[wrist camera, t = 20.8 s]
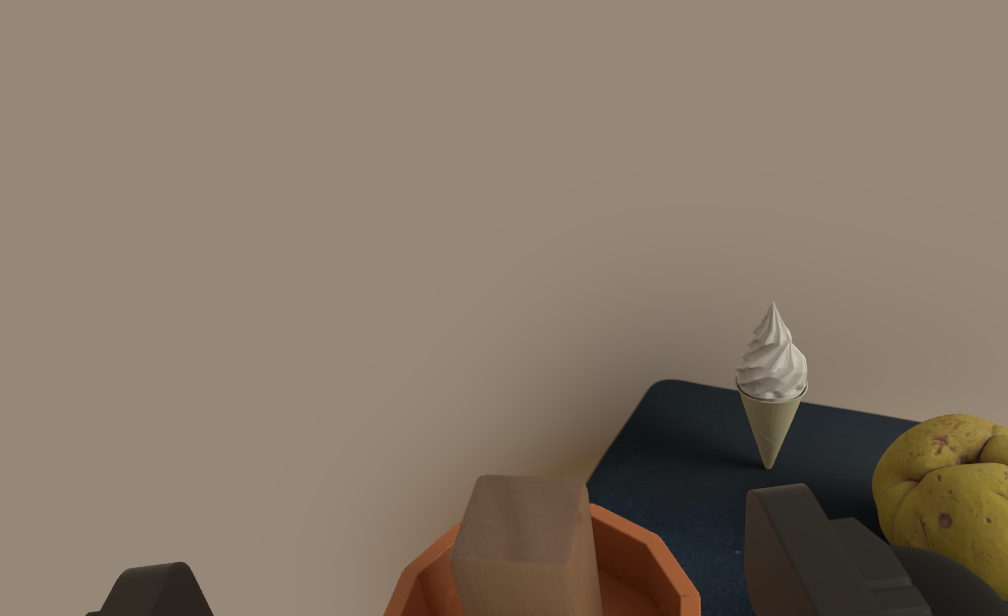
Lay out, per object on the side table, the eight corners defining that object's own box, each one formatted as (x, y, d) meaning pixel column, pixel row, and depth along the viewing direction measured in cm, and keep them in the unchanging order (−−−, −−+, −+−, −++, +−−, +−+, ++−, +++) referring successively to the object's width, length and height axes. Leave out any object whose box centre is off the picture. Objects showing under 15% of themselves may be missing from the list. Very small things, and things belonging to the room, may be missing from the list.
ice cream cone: (728, 482, 56) (728, 314, 49) (741, 441, 60) (742, 280, 53) (798, 495, 53) (808, 321, 46) (806, 452, 57) (816, 285, 50)
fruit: (1040, 510, 49) (1072, 390, 44) (1104, 664, 39) (1154, 531, 35) (859, 492, 53) (872, 379, 48) (877, 627, 43) (895, 503, 39)
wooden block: (607, 630, 28) (588, 474, 24) (595, 730, 25) (571, 567, 21) (508, 620, 29) (476, 469, 26) (484, 715, 26) (443, 557, 22)
